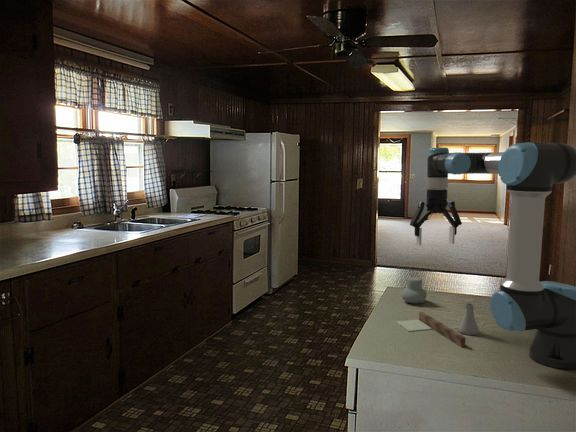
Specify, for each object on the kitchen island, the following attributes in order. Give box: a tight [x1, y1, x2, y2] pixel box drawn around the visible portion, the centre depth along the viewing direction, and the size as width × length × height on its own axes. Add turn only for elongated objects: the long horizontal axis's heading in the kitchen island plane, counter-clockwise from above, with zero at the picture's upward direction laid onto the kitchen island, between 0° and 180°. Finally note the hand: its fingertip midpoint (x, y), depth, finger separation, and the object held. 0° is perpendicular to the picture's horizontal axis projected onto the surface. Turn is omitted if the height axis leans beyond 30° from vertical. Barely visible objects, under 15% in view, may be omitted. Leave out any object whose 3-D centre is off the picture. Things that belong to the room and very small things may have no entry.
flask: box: [457, 302, 480, 336], centre depth 172 cm, size 7×7×10 cm
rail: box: [418, 311, 466, 348], centre depth 172 cm, size 27×2×3 cm, turn 14°
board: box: [395, 319, 432, 332], centre depth 179 cm, size 10×9×1 cm
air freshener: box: [401, 276, 428, 305], centre depth 208 cm, size 11×8×10 cm
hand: (435, 244), depth 190 cm, fingers open, 13 cm apart
